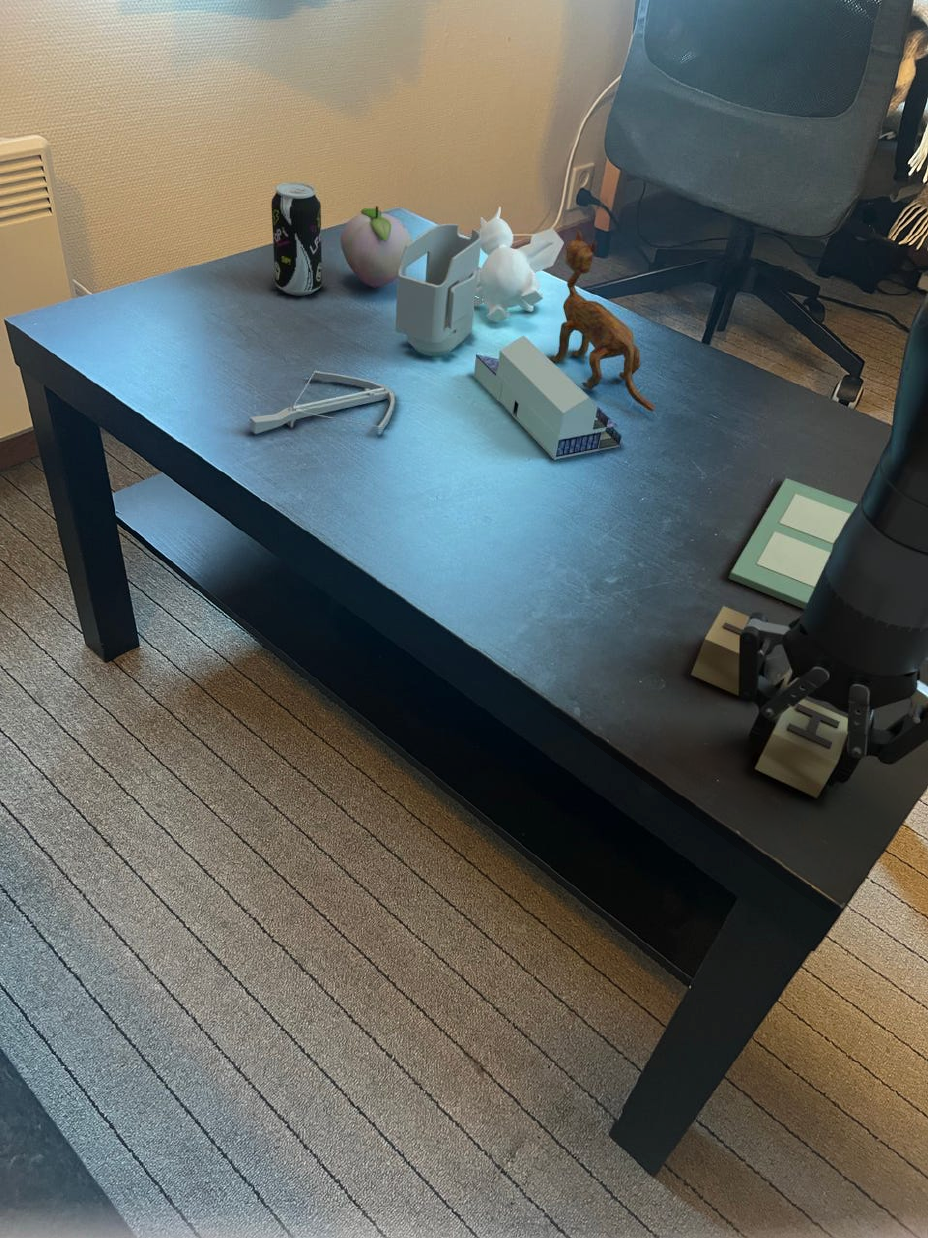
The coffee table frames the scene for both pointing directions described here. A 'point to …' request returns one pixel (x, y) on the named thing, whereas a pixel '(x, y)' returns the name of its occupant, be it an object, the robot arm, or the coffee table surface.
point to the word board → (792, 543)
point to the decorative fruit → (374, 246)
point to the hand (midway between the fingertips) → (795, 760)
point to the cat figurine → (596, 326)
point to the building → (546, 401)
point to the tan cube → (722, 651)
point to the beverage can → (297, 238)
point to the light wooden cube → (804, 747)
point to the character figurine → (512, 268)
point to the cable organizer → (438, 290)
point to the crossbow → (328, 404)
